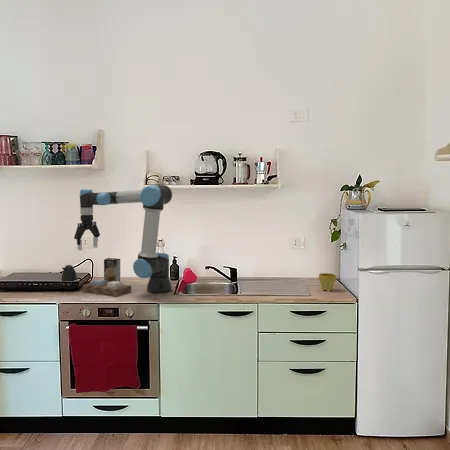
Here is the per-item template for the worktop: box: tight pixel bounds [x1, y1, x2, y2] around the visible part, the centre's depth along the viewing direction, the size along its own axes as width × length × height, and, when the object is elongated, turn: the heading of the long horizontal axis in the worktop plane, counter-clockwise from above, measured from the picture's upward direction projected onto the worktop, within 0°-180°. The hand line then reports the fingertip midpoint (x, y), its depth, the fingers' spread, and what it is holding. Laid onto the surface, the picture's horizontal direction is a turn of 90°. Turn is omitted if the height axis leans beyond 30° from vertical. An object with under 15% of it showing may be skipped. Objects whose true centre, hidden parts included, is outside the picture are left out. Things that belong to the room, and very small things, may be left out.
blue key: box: [91, 278, 106, 286], centre depth 310 cm, size 6×6×3 cm
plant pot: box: [318, 272, 337, 291], centre depth 317 cm, size 10×10×10 cm
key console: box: [82, 282, 132, 298], centre depth 308 cm, size 26×13×4 cm, turn 63°
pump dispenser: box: [60, 264, 78, 281], centre depth 314 cm, size 10×10×15 cm
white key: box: [107, 281, 123, 288], centre depth 305 cm, size 6×6×3 cm
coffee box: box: [103, 257, 121, 283], centre depth 332 cm, size 9×6×16 cm
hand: (87, 248), depth 317 cm, fingers open, 13 cm apart
